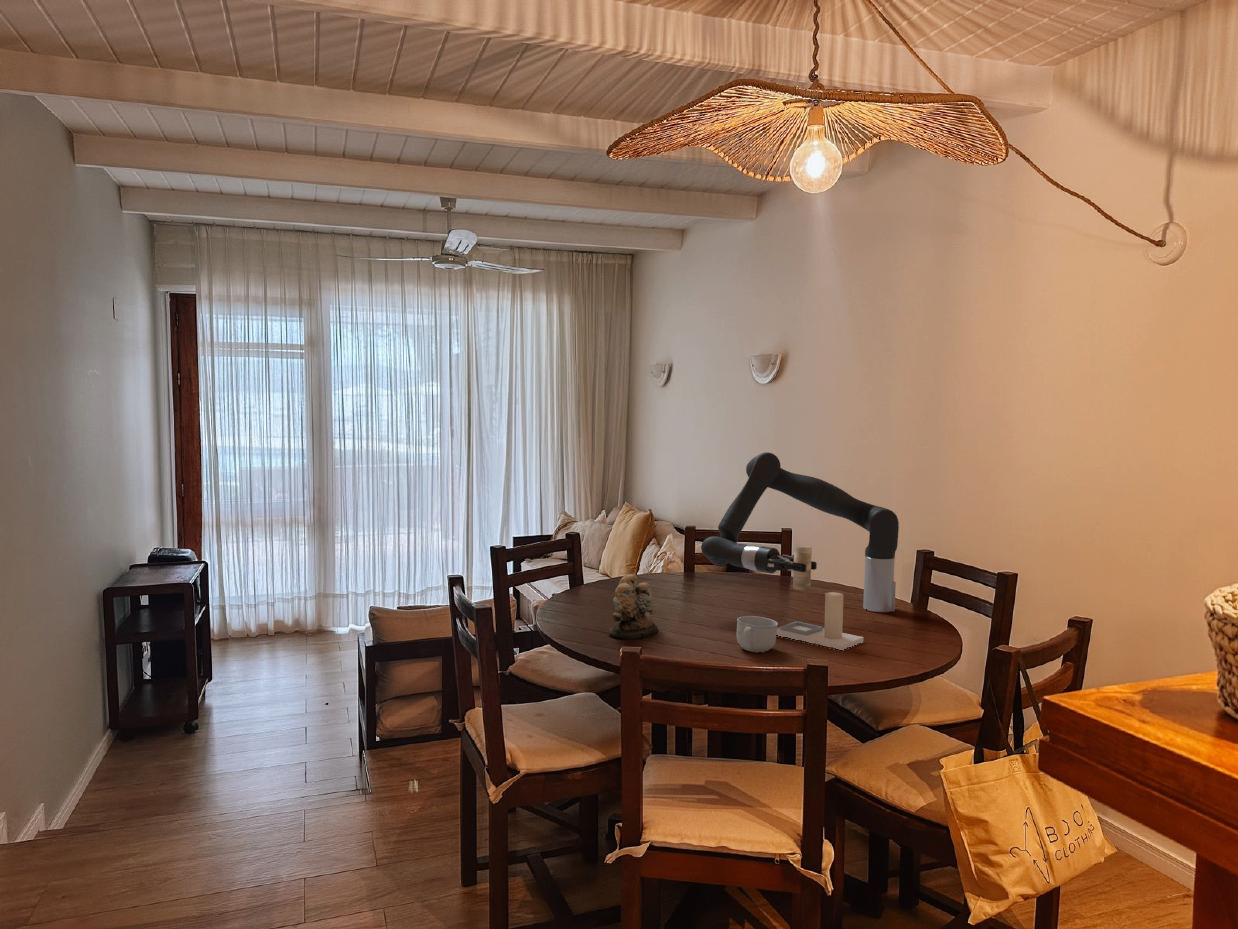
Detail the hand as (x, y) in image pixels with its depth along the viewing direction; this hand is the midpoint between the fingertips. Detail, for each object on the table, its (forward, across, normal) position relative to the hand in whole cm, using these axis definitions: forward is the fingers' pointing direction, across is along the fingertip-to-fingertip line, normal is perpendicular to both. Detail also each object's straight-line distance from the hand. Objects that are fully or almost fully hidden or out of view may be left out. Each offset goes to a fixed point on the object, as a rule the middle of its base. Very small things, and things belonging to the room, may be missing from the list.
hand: (810, 567), depth 234 cm
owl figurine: (-37, -34, +20) cm, 54 cm away
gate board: (+3, 0, +20) cm, 20 cm away
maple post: (-3, 0, +6) cm, 7 cm away
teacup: (-3, -23, +20) cm, 31 cm away
